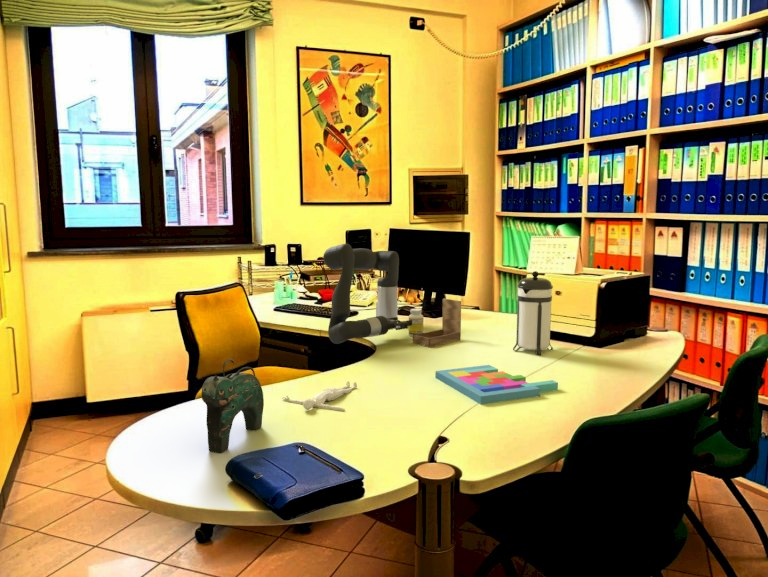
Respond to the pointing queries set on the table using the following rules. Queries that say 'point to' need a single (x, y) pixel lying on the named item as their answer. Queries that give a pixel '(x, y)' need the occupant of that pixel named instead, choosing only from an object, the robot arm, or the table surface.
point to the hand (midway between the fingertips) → (404, 321)
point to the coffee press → (534, 314)
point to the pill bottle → (416, 322)
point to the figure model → (324, 398)
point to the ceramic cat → (231, 405)
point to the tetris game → (492, 384)
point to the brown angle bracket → (444, 326)
